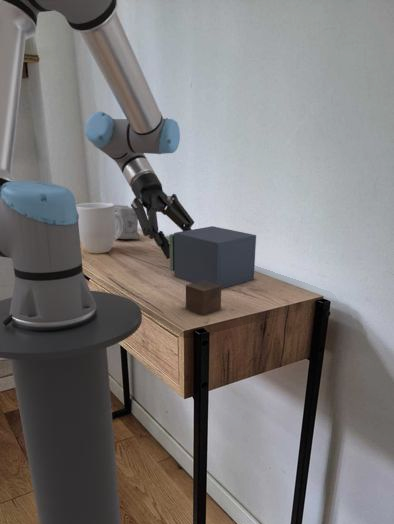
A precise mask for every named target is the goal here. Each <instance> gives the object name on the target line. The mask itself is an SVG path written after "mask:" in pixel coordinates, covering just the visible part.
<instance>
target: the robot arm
mask: <svg viewBox="0 0 394 524" xmlns="http://www.w3.org/2000/svg"><path fill="white" fill-rule="evenodd" d="M117 7H118V0H0V258H8V259H11V260H12V268H13V272H14V285H13V291H12V295H11V296H12V297H11V298H12V301H11V307H10V316H9V317H7V318H6V319H5V320H4V321H3V322H2V323H3V324H4V325H5V326H7V325H8V324H9V323H10V322H11V323H12V324H13V325H14V326H15V327H17V328H19V329H22V330H26V331H32V332H56V331H63V330H69V329H73V328H77V327H80V326H83V325H85V324H87V323H89V322H91V321H92V320H93V319H94V318H95V317H96V316H97V308H96V303H95V300H94V298H93V295H92V293H91V291H92V290H91V288H90V286H89V284H88V282H87V280H86V277H85V275H84V268H83V258H82V247H81V245H82V244H81V240H80V235H79V224H78V220H79V215H78V212H77V208H76V205H77V202H76V197H75V195H74V194H73V192H72V191H71V190H70V189H69V188H67V187H65V186H63V185H60V184H57V183H52V182H45V181H33V180H16V179H15V178H14V176H13V174H12V171H13V162H14V153H15V151H14V150H15V145H16V144H15V143H16V134H17V133H16V132H17V125H18V115H19V107H20V106H19V105H20V96H21V87H22V77H23V69H24V60H25V59H24V58H25V49H26V41H27V40H28V39H31V38H32V37H34V36H35V35H36V32H37V25H38V15H39V14H40V13H46V12H53V11H55V12H58V13H59V14H61V15H62V16H63V17H64V18H65V20H66V21H67V24H68V25H69V27H70V28H71V29H72V30H73V31H75V32H78V33H79V34H80V35H81V37H82V39H83V41H84V43H85V45H86V46H87V48H88V50H89V52H90V54H91V56H92V57H93V59H94V61H95V63H96V65H97V68H98V69H99V71H100V72H101V74H102V76H103V78H104V80H105V82H106V84H107V85H108V87H109V90H110V91H111V92H112V94H113V96H114V99H115V100H116V102H117V104H118V105H119V107H120V109H121V111H122V113H123V115H124V117H125V118H113V117H112V116H111V115H110V114H107V113H106V112H104V111H97V112H96V111H95V112H93V113H92V114H91V115H90V116H89V117H88V118H87V120H86V122H85V126H84V134H85V136H86V139H87V140H88V141H89V142H90V143H91V144H92V145H93V147H95V148H97V149H98V150H100V151H101V152H103V153H104V154H105V155H107V156H108V157H109V158H111V160H113V161H114V162H115V163H116V165H117V166H118V168H119V170H120V171H121V173H122V175H123V177H124V178H125V181H126V183H127V184H128V186H129V188H131V191H132V193H133V195H134V199H133V200H132V202H131V203H130V208H133V209H134V211H135V213H136V215H137V218H138V225H139V226H140V228H141V232H142V234H143V236H145V237H148V238H149V239H150V240H154V242H155V244H156V245H157V247H159V248H160V249H161V251H162V253H163V255H164V256H165V258H166V260H170V244H169V242H168V241H167V239H166V237H167V236H166V235H165V234H164V232H163V230H159V223H158V216H157V213H161V214H162V215H164V216H167V218H168V219H170V220H171V221H172V222H173V223H174V224H175V225H176V226H177V227H178V228H179V229H180V230H181V232H182V231H188V230H193V229H192V227H193V225H194V224H195V221H194V219H193V218H192V216H191V215H190V214H189V212H188V211H187V210H186V209H185V207H184V206H183V205H182V204H181V202H180V201H179V199H178V197H177V194H175V193H172V194H171V195H167V193H165V192H164V190H163V184H162V182H161V181H160V178H159V177H158V175H157V174H156V172H155V169H153V166H152V165H151V163H150V161H149V160H148V158H147V156H146V155H145V154H154V155H163V154H164V155H165V154H174V153H175V152H176V151H177V150H178V148H179V145H180V140H181V131H180V126H179V123H178V122H177V121H176V120H175V119H172V118H168V117H166V118H164V117H163V114H162V112H161V111H160V108H159V106H158V103H157V101H156V98H155V97H154V95H153V92H152V89H151V88H150V84H149V83H148V80H147V78H146V76H145V74H144V72H143V69H142V67H141V65H140V63H139V60H138V58H137V56H136V54H135V52H134V49H133V47H132V45H131V43H130V41H129V38H128V36H127V34H126V31H125V28H124V27H123V25H122V22H121V20H120V18H119V15H118V13H117V11H116V10H117Z"/></svg>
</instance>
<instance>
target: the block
mask: <svg viewBox="0 0 394 524" xmlns="http://www.w3.org/2000/svg"><path fill="white" fill-rule="evenodd" d="M185 309H186V310H188V311H190V312H193V313H195V314H198V315H200V316H205V315H207V314H208V315H209V314H212V313H214V312H217V311H221V309H222V289H221V285H218V284H215V283H211V282H208V281H205V280H203V281H199V282H195V283H193V282H190V283H188V284H185Z"/></svg>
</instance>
